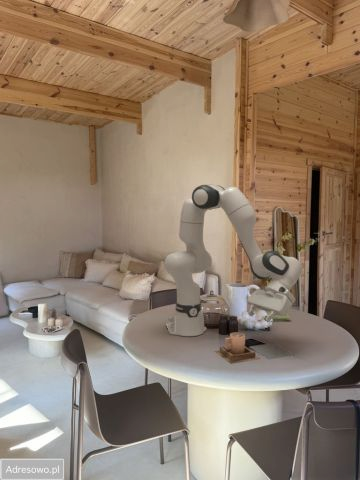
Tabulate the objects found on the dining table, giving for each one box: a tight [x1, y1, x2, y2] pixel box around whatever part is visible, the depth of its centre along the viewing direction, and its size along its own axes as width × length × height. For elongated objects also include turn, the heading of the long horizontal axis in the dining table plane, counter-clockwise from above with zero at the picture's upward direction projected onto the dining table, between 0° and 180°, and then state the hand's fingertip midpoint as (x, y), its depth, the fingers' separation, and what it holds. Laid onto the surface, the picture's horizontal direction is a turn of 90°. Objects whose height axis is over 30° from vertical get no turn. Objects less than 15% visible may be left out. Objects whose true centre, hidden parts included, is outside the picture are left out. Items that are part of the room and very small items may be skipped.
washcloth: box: [266, 311, 292, 322], centre depth 199 cm, size 13×18×3 cm
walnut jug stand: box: [214, 346, 261, 365], centre depth 143 cm, size 13×13×4 cm
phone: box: [259, 326, 271, 332], centre depth 185 cm, size 8×1×15 cm
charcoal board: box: [249, 342, 295, 360], centre depth 147 cm, size 14×12×2 cm
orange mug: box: [224, 331, 246, 355], centre depth 142 cm, size 6×8×8 cm
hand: (257, 317), depth 147 cm, fingers open, 8 cm apart
